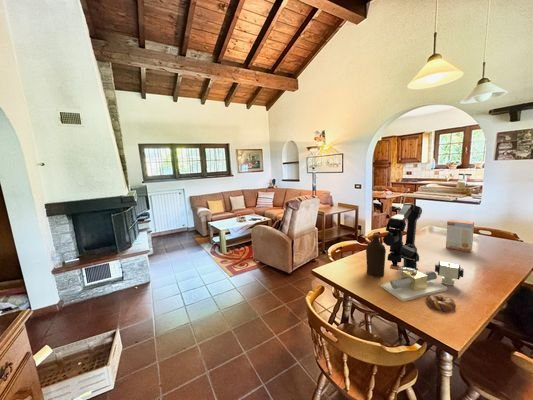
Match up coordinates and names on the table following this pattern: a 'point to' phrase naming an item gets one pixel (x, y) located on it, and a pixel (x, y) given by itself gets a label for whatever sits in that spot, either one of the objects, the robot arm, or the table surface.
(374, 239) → the olive oil
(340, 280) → the table surface
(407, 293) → the mount board
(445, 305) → the pretzel
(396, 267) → the valve lever
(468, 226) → the cracker box
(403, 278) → the valve body
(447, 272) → the pneumatic valve
